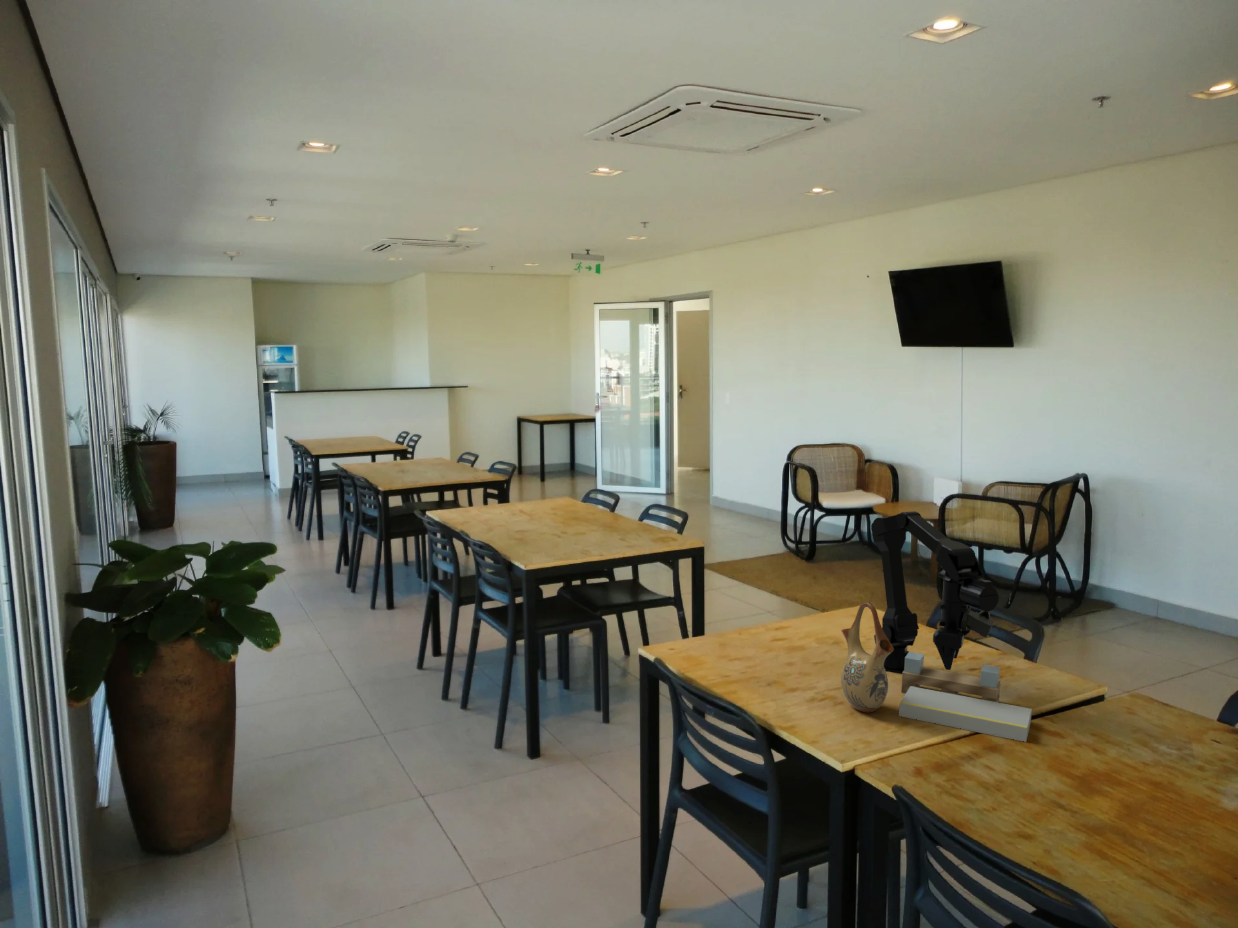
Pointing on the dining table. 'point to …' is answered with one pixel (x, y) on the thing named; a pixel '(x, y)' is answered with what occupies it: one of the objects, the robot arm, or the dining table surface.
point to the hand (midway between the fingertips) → (951, 663)
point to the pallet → (949, 683)
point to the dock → (966, 713)
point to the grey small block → (914, 663)
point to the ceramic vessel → (865, 666)
